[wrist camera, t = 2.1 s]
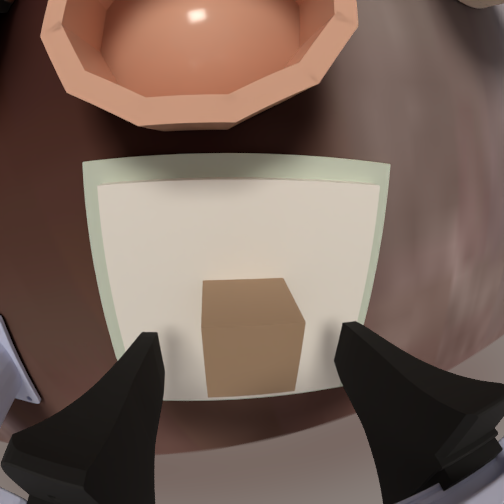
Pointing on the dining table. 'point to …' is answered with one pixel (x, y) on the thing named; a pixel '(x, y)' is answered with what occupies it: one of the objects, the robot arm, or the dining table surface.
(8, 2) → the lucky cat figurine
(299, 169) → the mat
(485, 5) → the teacup with lid
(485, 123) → the dining table surface
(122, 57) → the bowl
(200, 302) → the cover plate
